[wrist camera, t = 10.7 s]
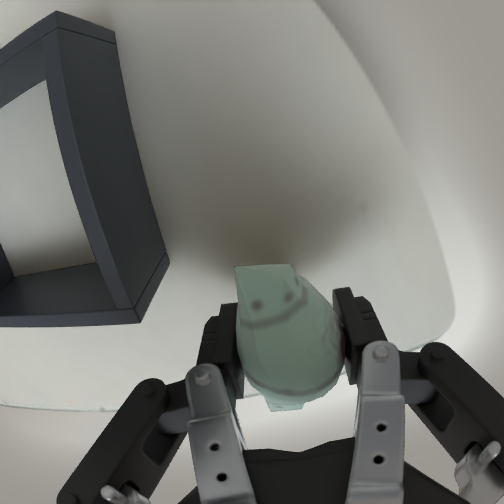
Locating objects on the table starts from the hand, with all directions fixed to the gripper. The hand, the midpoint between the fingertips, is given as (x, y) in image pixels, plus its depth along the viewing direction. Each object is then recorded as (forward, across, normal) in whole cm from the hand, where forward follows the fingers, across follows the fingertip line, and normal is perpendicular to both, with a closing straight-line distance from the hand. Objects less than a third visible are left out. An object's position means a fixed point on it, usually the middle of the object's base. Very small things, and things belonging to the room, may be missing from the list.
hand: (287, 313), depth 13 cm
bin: (+3, +13, -8) cm, 15 cm away
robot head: (+2, 0, 0) cm, 2 cm away
